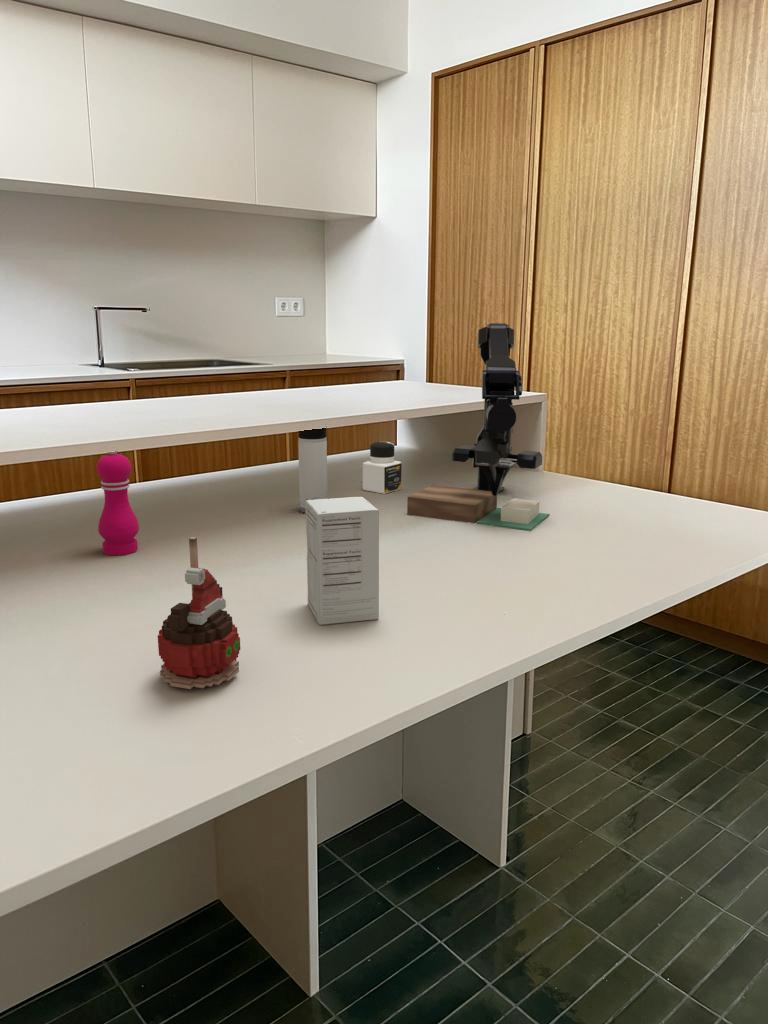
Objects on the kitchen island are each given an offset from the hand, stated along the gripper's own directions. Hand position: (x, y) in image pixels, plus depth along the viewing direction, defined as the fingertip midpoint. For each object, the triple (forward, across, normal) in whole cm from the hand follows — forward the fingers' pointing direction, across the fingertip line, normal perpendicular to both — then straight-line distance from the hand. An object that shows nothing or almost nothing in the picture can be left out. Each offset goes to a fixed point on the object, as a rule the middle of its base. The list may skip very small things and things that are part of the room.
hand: (495, 495), depth 174 cm
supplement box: (+5, -2, -64) cm, 64 cm away
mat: (+5, +4, 0) cm, 7 cm away
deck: (+5, -10, 0) cm, 11 cm away
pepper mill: (+5, -54, -57) cm, 79 cm away
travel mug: (+5, -38, -14) cm, 41 cm away
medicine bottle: (+5, -34, +12) cm, 36 cm away
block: (+2, +6, +1) cm, 6 cm away
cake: (+5, -8, -91) cm, 92 cm away
